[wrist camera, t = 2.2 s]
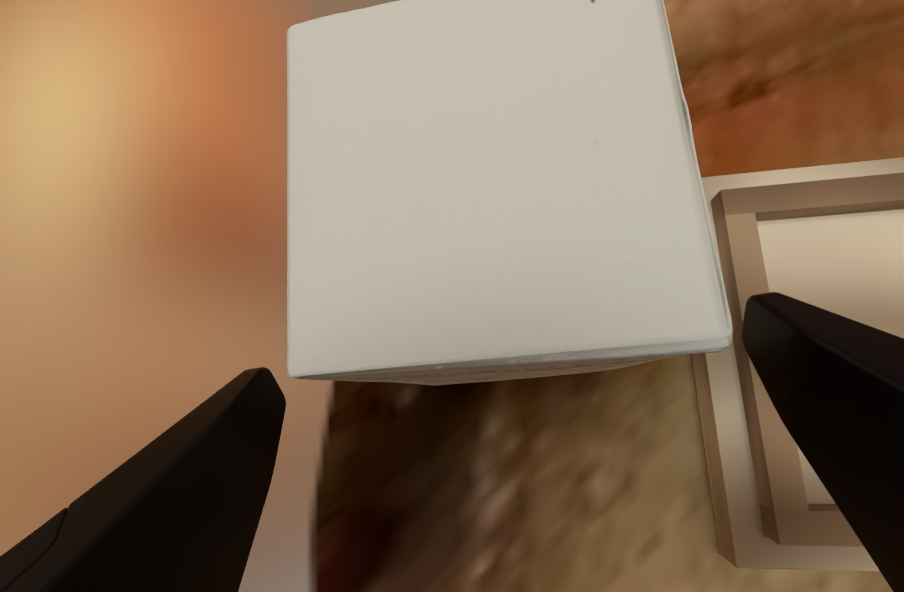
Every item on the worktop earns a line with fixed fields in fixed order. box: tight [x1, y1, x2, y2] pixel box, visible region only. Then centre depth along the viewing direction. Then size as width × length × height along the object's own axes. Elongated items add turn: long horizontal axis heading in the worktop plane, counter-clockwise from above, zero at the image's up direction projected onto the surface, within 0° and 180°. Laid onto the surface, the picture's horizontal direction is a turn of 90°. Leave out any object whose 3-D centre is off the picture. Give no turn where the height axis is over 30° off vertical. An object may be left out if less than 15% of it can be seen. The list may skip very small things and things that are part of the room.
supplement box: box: [287, 0, 733, 386], centre depth 14 cm, size 7×7×13 cm
